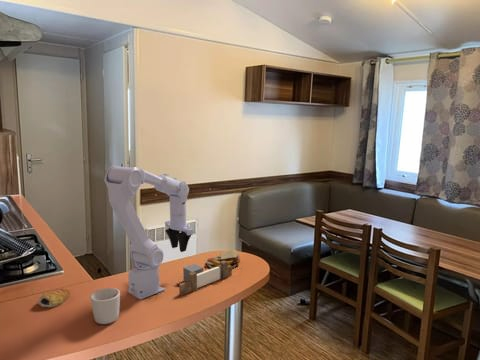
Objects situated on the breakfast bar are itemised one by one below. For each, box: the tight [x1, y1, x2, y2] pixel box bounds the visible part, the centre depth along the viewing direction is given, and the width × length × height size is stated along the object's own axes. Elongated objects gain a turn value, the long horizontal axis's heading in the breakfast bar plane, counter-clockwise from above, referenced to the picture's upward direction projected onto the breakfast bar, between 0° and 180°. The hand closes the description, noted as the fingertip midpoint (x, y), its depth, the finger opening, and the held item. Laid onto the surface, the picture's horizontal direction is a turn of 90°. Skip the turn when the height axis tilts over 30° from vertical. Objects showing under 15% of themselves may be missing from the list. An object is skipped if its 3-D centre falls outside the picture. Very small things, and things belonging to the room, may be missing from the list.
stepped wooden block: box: [179, 260, 233, 296], centre depth 129 cm, size 22×2×6 cm, turn 135°
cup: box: [90, 287, 121, 325], centre depth 108 cm, size 11×8×8 cm
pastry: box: [37, 287, 71, 308], centre depth 118 cm, size 9×7×4 cm
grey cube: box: [182, 263, 204, 282], centre depth 132 cm, size 5×5×5 cm
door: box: [197, 265, 222, 289], centre depth 130 cm, size 11×1×5 cm, turn 135°
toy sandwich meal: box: [205, 249, 241, 269], centre depth 147 cm, size 12×14×5 cm
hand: (178, 249), depth 137 cm, fingers open, 5 cm apart
